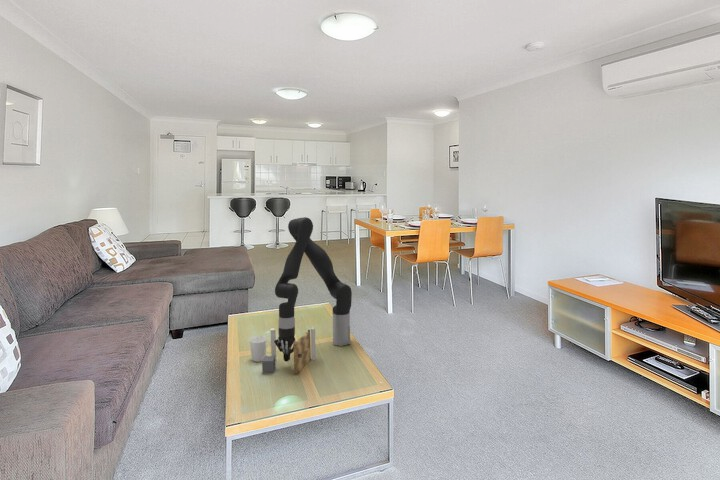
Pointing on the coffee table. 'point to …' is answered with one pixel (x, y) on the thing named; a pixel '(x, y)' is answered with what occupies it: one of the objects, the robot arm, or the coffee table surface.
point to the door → (302, 352)
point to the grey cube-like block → (268, 364)
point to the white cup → (258, 348)
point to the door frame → (313, 346)
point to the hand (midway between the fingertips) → (286, 360)
